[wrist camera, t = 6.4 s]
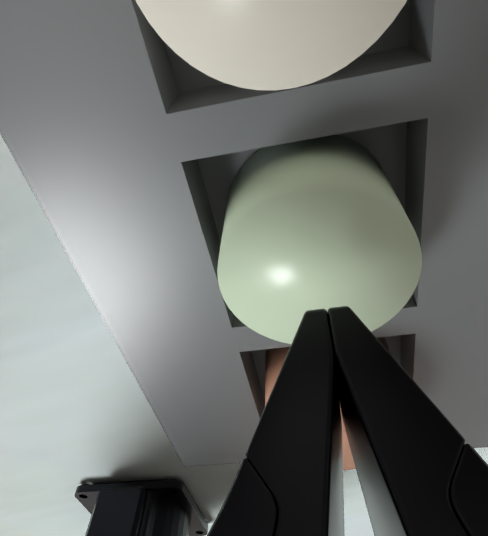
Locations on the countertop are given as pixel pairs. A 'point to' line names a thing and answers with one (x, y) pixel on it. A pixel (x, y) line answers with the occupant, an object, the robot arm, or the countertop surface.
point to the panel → (218, 186)
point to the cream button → (270, 36)
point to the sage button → (315, 238)
